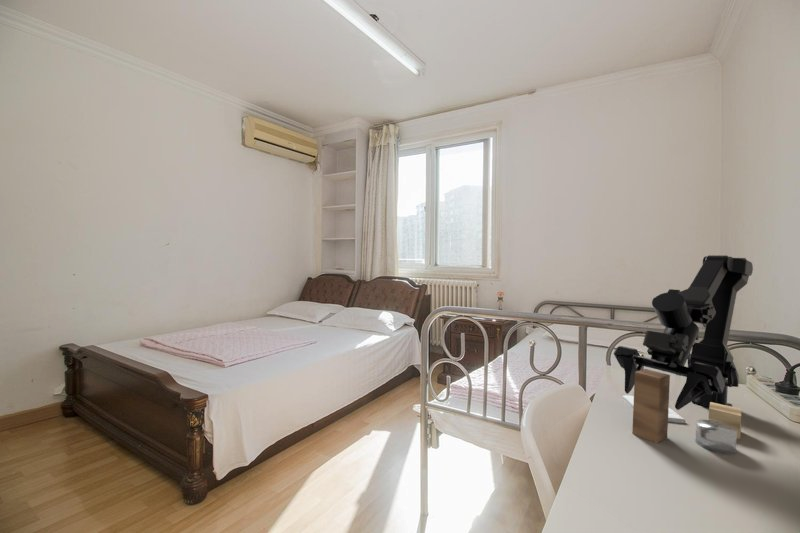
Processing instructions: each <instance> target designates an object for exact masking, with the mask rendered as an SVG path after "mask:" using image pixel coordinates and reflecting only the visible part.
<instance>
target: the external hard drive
mask: <svg viewBox="0 0 800 533" xmlns="http://www.w3.org/2000/svg"><path fill="white" fill-rule="evenodd" d="M623 399H624V400H623ZM622 400H623V401H625V402H626V403H627V404H628V406H630V407H631V408H632V409H633V406H634V395H626V394H624V395H622ZM686 421H687V420H686V419H685V418H684V417H682V416H681V415H679V413H677V412H675V410H673V409H672V408H670V407H669V408H668V423H677V424H686Z"/></svg>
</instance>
